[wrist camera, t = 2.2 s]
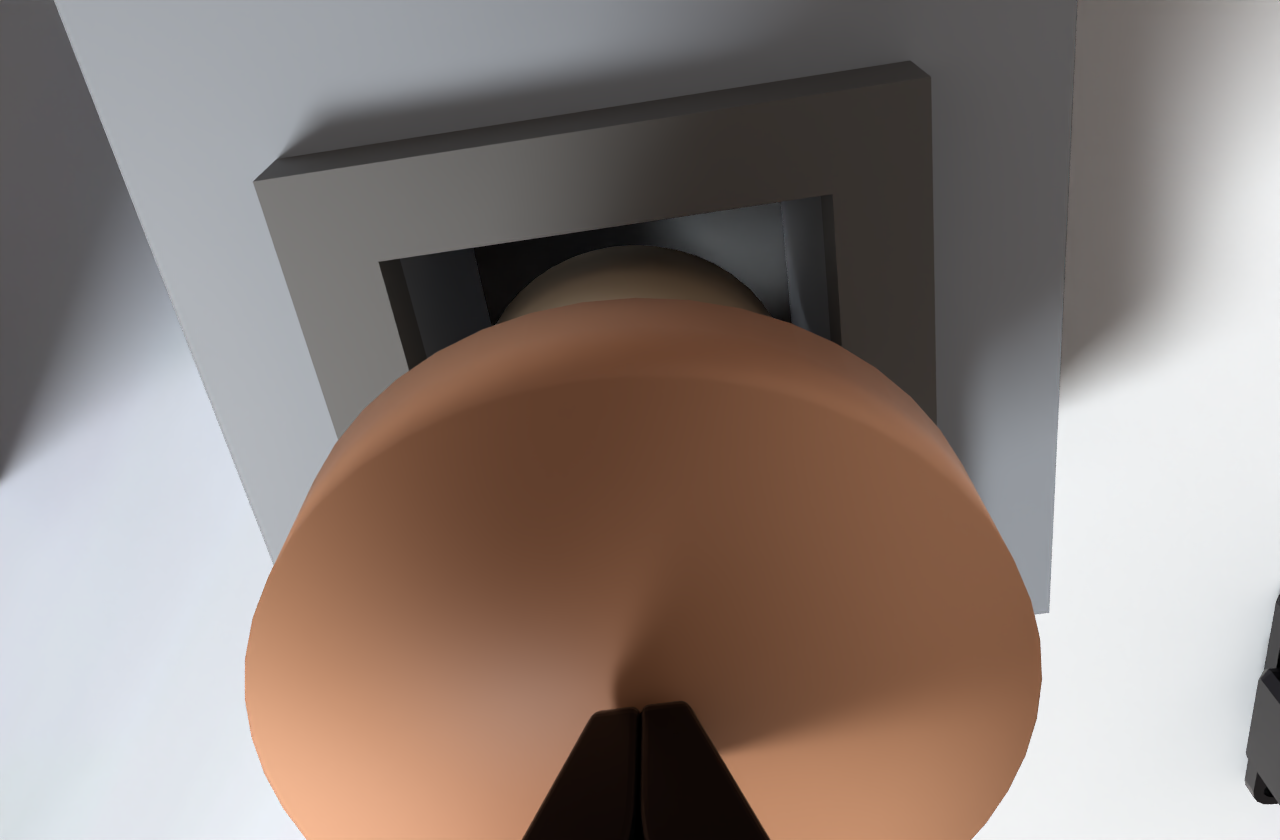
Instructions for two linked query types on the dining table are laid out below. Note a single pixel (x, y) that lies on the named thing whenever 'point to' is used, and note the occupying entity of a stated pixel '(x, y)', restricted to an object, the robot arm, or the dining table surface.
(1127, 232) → the dining table surface
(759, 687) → the pin
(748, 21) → the socket block
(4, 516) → the dining table surface
